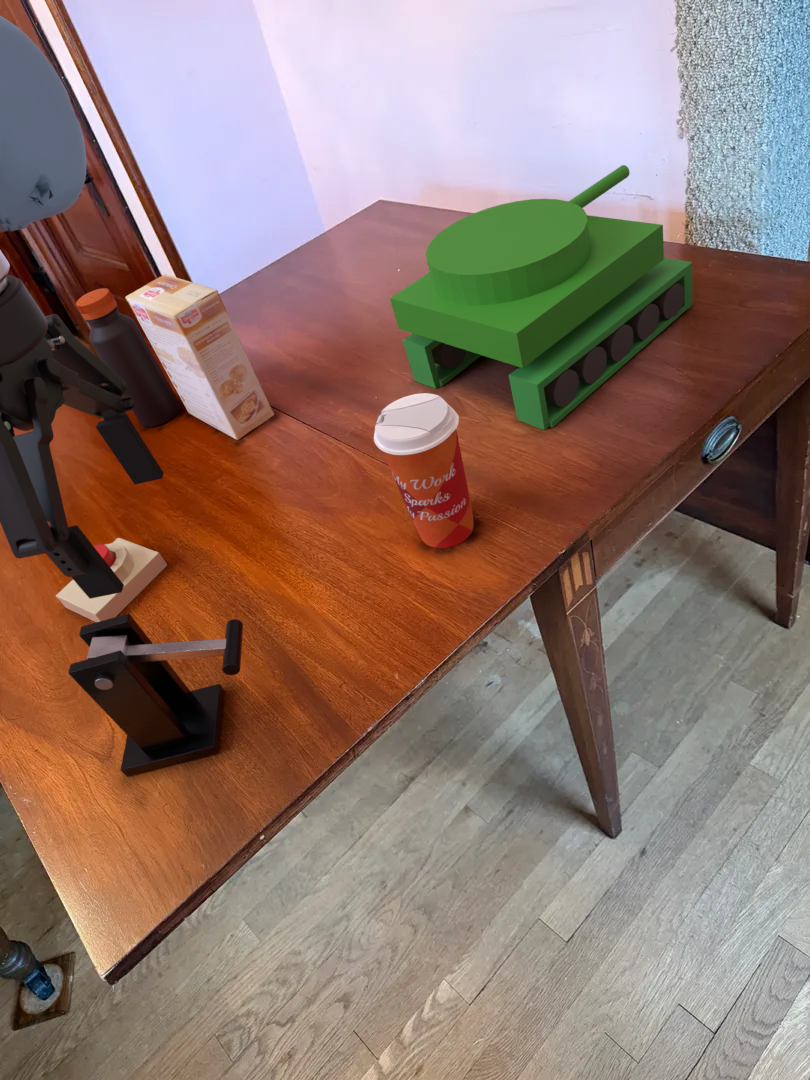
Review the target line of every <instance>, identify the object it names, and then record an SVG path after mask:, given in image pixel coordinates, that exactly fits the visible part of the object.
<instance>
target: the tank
mask: <svg viewBox="0 0 810 1080" xmlns="http://www.w3.org/2000/svg"><path fill="white" fill-rule="evenodd" d="M630 174H631V173H630V168H629V167H628V166H627V165H625V164H622V165H620V166H619V167H617V168H616V169H614V170H613V171H611V172H609V174H607V175H605V176H604V177H602V178H601V179H599V180H598V181H597V182H595V183H594V184H592V185H591V186H589V187H587V188H586V189H585V190H583V191H581V192H579V194H577V195H576V196H574V197H572V199H570V200H564V199H563V200H562V199H557V198H533V199H530V198H529V199H523V200H515V201H511V202H505V203H502V204H498V205H494V206H490V207H488V208H485V209H482V210H479V211H476V212H473V213H471V214H469V215H467V216H465V217H463V218H460V219H458V220H457V221H455V222H453V223H452V224H450V225H448V226H447V227H446V228H444V229H443V230H441V231H440V232H438V234H436V236H434V238H432V239H431V241H430V243H429V244H428V246H427V248H426V251H425V259H426V263H427V267H428V271H429V272H427V273H426V274H424V275H423V276H421V277H420V278H418V279H417V280H415V281H413V282H412V283H411V284H409V285H408V286H406V287H405V288H403V289H401V290H399V291H398V292H397V293H395V294H394V295H393V296H391V297H389V300H390V304H391V307H392V311H393V314H394V316H395V320H396V324H397V328H398V330H401V331H404V332H407V333H411V334H409V335H408V336H407V337H405V338H404V339H403V340H402V343H403V346H404V350H405V354H406V357H407V360H408V363H409V368H410V370H411V373H412V377H413V380H414V381H415V382H417V383H419V384H422V385H425V386H428V387H430V388H432V389H438V388H439V387H444V386H445V385H446V384H447V383H449V382H450V381H451V380H452V379H453V378H454V379H455V377H456V376H457V375H459V374H460V373H461V372H462V371H464V370H465V369H466V368H468V367H469V366H470V365H471V364H473V363H474V362H475V361H477V360H478V359H479V358H480V357H482V356H483V357H486V358H490V359H493V360H496V361H499V362H502V363H505V364H509V365H512V366H515V367H516V369H515V370H513V371H512V372H511V373H509V374H508V380H509V385H510V390H511V394H512V395H511V396H512V401H513V405H514V411H515V415H516V420H517V421H519V422H521V423H524V424H527V425H529V426H533V427H535V428H538V429H540V430H542V431H546V430H547V429H548V428H551V429H552V428H555V426H556V425H557V424H559V422H561V421H562V420H563V419H564V418H565V417H567V416H568V415H569V414H570V413H571V412H572V411H573V410H574V409H575V408H577V407H578V406H579V405H580V404H581V403H582V402H584V401H585V400H586V399H587V398H588V397H589V396H590V395H592V393H593V392H595V391H596V390H597V389H598V388H600V387H601V385H603V384H604V383H605V382H607V380H608V379H610V377H612V376H613V375H614V374H615V373H616V372H618V371H619V370H620V369H621V368H622V367H623V366H625V364H627V363H628V362H629V361H630V360H631V359H632V358H633V357H635V356H636V355H637V354H639V352H641V350H642V349H644V348H645V347H646V346H647V345H648V344H649V343H650V342H651V341H653V340H654V339H655V338H656V337H657V336H659V335H660V334H661V333H662V332H663V331H664V330H665V329H667V327H669V326H670V325H671V324H672V323H673V322H674V321H676V320H677V319H678V318H679V317H680V316H681V315H682V314H683V313H684V312H686V311H687V310H688V309H690V307H692V306H693V304H694V303H693V302H694V301H693V261H686V260H682V259H676V258H669V257H665V253H664V252H665V250H664V246H665V245H664V224H661V223H660V224H659V223H652V222H644V221H637V220H629V219H628V220H627V219H620V218H612V217H605V216H596V215H588V214H587V212H586V211H585V209H584V208H585V207H586V206H588V205H589V204H591V203H592V202H594V201H596V199H598V198H599V197H601V196H602V195H604V194H606V193H607V192H608V191H609V190H610V189H611V190H612V189H613V188H614V187H615V186H617V185H619V184H620V183H621V182H623V181H624V180H625V179H627V178H628V177H629V176H630ZM517 367H518V368H517Z"/></svg>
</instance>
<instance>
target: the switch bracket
mask: <svg viewBox="0 0 810 1080" xmlns="http://www.w3.org/2000/svg"><path fill="white" fill-rule="evenodd" d="M120 635H127V637H128V640H129V643H130V645H143V644H154V643H153V642H152V640H151V639H150V638H149V637H148V636H147V634H146V633H145V632H144V630H143V629H142V628H141V627H140V625H139V624H138V623H137V621H136V620H135V619H134V618H133V616H131V614H130V613H126V614H122V615H119V616H118V615H117V616H116V617H114V618H111V619H107V620H103V621H100V622H93V623H88V624H86V625H83V626H81V627H80V630H79V634H78V636H79V637H80V638H81V639H82V641H83V642H85V644H86V645H87V646H88V648H90V644H91V641H92V638H93V637H106V636H120ZM67 674H68V675H69V676H70V677H71V678H72V679H73V680H74V682H76V683H77V685H79V687H80V688H81V689H83V690H84V692H85V693H86V694H87V695H88V696H89V697H90V698H91V699H92V700H93V701H94V702H95V703H96V704H97V706H99V707H100V708H101V709H102V710H103V712H104V713H105V714H106V715H107V716H108V717H109V718H110V719H111V720H112V721H113V722H114V723H115V724H116V725H117V726H118V727H119V728H120V729H121V731H123V733H125V734H126V739H125V745H124V750H123V754H122V759H121V765H120V772H121V773H122V774H124V776H125V777H127V778H128V777H131V776H135V775H139V774H143V773H147V772H152V771H155V770H159V769H163V768H167V767H170V766H175V765H178V764H181V763H186V762H187V763H188V762H190V761H194V760H198V759H202V758H206V757H210V756H213V755H217V754H220V748H221V736H222V725H223V724H222V723H223V715H224V713H223V712H224V702H225V701H224V700H225V688H224V687H223V686H222V685H221V683H216V684H213V685H208V686H205V687H201V688H198V689H193V690H191V689H190V688H189V687H188V686H187V684H185V682H184V681H183V680H182V678H181V677H180V676H179V674H178V673H177V672H176V671H175V670H174V668H173V667H172V666H171V665H170V663H169V662H168V660H163V661H149V662H136V663H131V662H130V661H129V659H128V658H127V657H126V656H125V655H124V653H123V652H122V651H121V650H120V651H116V652H112V653H109V654H105V655H101V656H98V657H94V658H90V659H87V658H86V659H84V660H80V661H75V662H72V663H71V664H70V665H69V668H68V672H67Z"/></svg>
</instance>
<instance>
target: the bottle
mask: <svg viewBox="0 0 810 1080" xmlns="http://www.w3.org/2000/svg"><path fill="white" fill-rule="evenodd" d="M75 306H76V308H77V309H78V311H79V313H80V315H81V316H82V318H83V319H84V320H85V322H86V323H88V324H90V326H91V328H90V331H89V337H88V339H89V342H90V344H91V345H92V347H93V349H94V350H95V352H96V354H97V355H98V358H99V359H100V360H101V361H103V362H104V363H105V364H106V365H107V366H108V367H109V368H110V369H112V370H113V371H114V372H115V373H116V374H117V375H118V376H120V377H121V378H122V379H123V380H124V381H125V382H126V384H127V385H128V393H127V394H123V398H124V397H128V396H131V397H132V399H133V400H134V403H135V409H134V410H131V411H132V412H133V414H134V415H135V418H136V419H137V421H138V422H139V423H140V424H141V425H142V426H143V427H146V428H154V427H159V426H161V425H164V424H165V423H168V422H169V421H171V420H173V418H175V417H176V416H177V415H178V414H179V412H180V410H181V403H180V400H179V399H178V397H177V395H176V393H175V392H174V389H173V388H172V386H171V383H170V382H169V380H168V378H167V377H166V375H165V374H164V372H163V370H162V368H161V366H160V364H159V362H158V361H157V359H156V357H155V355H154V354H153V352H152V350H151V348H150V346H149V345H148V342H147V341H146V339H145V337H144V336H143V334H142V333H141V331H140V329H139V327H138V325H137V323H136V320H134V319H133V318H132V317H131V316H128V315H126V314H123V313H120V311H119V310H118V309H119V305H118V304H117V301H116V299H115V298H114V296H113V295H112V293H111V291H110V289H109V288H106V287H102V288H98V289H94V290H92V291H89V292H87V293H85V294H84V295H82V296H81V297H79V298H78V299H77V300H76V302H75Z"/></svg>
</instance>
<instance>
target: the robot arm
mask: <svg viewBox="0 0 810 1080" xmlns="http://www.w3.org/2000/svg"><path fill="white" fill-rule="evenodd" d="M87 167H88V166H87V151H86V143H85V139H84V133H83V130H82V126H81V121H80V120H79V118H77V116H76V112H75V109H74V106H73V105H72V101H71V99H70V96H69V93H68V91H67V89H66V86H65V85H64V83H63V81H62V79H61V78H60V75H59V74H58V72H57V70H55V68H54V66H53V64H52V63H51V62H50V60H49V59H48V57H47V56H46V55H45V53H43V51H42V50H41V49H40V47H39V46H38V45H37V44H36V43H35V42H34V41H33V40H32V39H31V37H29V36H28V35H27V33H25V32H24V31H23V30H22V29H21V28H20V27H18V25H15V23H13V22H11V21H9V20H8V19H6V18H5V17H3V16H2V15H0V233H4V232H15V231H18V230H24V229H26V228H28V227H29V225H30V224H32V223H35V222H39V221H42V220H44V219H48V218H50V217H53V216H57V215H60V214H62V213H64V212H66V211H68V210H69V209H71V208H72V206H74V205H75V203H76V202H77V200H78V199H79V197H80V195H81V194H82V191H83V188H84V185H85V182H86V177H87ZM10 268H11V265H10V262H9V261H8V259H7V258H6V255H4V253H3V252H2V249H0V526H1V528H2V530H3V533H4V535H5V538H6V540H7V542H8V545H9V547H10V550H11V552H12V554H13V556H14V557H15V558H16V559H19V560H20V559H25V558H31V557H34V556H40V555H44V554H46V556H47V557H48V558H49V559H50V560H51V561H52V563H53V564H54V565H55V566H56V568H58V569H59V571H60V572H61V573H62V575H63V576H66V577H68V578H71V579H72V580H74V581H75V582H76V583H77V584H78V586H79V587H80V588H81V589H82V590H83V591H84V593H85V594H86V595H87V596H88V597H89V598H90V599H91V598H96V597H101V596H106V595H111V594H116V593H121V592H122V589H123V587H124V584H123V583H122V582H121V581H120V579H119V578H118V577H117V575H116V574H115V573H114V572H113V570H112V569H111V568H110V567H109V565H108V564H107V563H106V562H105V560H104V559H103V558H102V556H101V555H100V554H99V553H98V551H97V550H96V549H95V548H94V545H93V544H92V542H91V541H90V540H89V539H88V537H87V536H86V535H85V533H84V532H83V531H82V530H81V528H80V527H79V526H78V524H75V525H71V526H69V525H68V521H67V517H66V512H65V507H64V503H63V498H62V495H61V490H60V485H59V482H58V477H57V473H56V468H55V464H54V461H53V456H52V451H51V447H50V444H51V443H52V441H53V440H54V438H55V437H54V431H53V425H52V424H53V422H54V420H55V417H56V414H57V410H58V409H59V408H61V407H62V406H63V405H65V406H67V407H70V408H72V409H74V410H77V411H79V412H83V414H87V415H89V416H91V417H94V418H97V419H103V420H100V421H97V423H96V425H95V428H96V430H97V431H98V433H99V434H100V436H101V438H102V439H103V440H104V442H105V443H106V445H107V446H108V447H109V449H110V451H111V453H113V455H114V456H115V458H116V459H117V461H118V463H119V464H120V466H121V467H122V468H123V470H124V471H125V473H126V474H127V476H128V477H129V479H130V481H132V483H133V484H134V485H139V484H140V485H141V484H143V483H149V482H153V481H157V480H161V479H163V477H164V474H165V472H164V471H163V469H162V468H161V466H160V464H159V463H158V461H157V460H156V458H155V457H154V455H153V453H152V452H151V450H150V449H149V447H148V446H147V444H146V443H145V440H144V439H143V438H142V436H141V434H140V432H139V431H138V429H137V428H136V426H135V424H134V423H133V421H132V420H131V418H130V417H129V415H128V414H127V412H130V411H132V410H134V409H135V403H134V400H133V399H132V397H131V396H128V397H124V396H123V394H127V393H128V385H127V384H126V382H125V381H124V380H123V379H122V378H121V377H120V376H118V375H117V374H116V373H115V372H114V371H113V370H112V369H110V368H109V367H108V366H107V365H106V364H105V363H104V362H103V361H102V360H101V359H100V357H99V356H97V355H96V354H95V353H94V352H93V351H92V350H90V349H89V348H88V347H87V346H86V345H84V344H83V342H81V341H80V340H79V339H78V338H76V337H75V336H74V335H73V334H72V332H71V331H70V329H69V328H68V327H67V325H66V324H65V323H64V321H63V320H62V318H61V317H60V316H59V315H58V314H56V313H53V314H49V315H46V316H45V314H44V313H43V311H42V310H41V308H40V307H39V305H38V304H37V302H36V300H35V299H34V298H33V296H32V294H31V293H30V291H29V290H28V288H27V287H26V285H25V284H24V282H23V281H22V279H20V278H19V277H16V276H14V275H11V274H9V273H10ZM14 429H16V430H19V431H23V432H25V433H21V434H17V435H15V430H14ZM28 431H30V432H28Z"/></svg>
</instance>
